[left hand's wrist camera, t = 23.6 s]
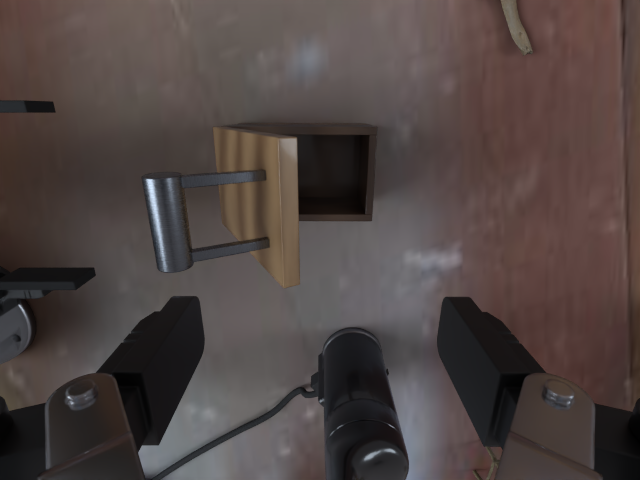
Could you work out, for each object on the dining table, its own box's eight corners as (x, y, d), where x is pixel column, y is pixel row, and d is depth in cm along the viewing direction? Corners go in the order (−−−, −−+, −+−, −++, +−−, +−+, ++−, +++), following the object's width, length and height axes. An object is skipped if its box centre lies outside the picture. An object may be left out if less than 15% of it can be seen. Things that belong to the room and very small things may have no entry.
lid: (297, 136, 21) (137, 142, 17) (300, 284, 25) (167, 317, 21) (225, 126, 35) (127, 128, 31) (233, 221, 38) (146, 234, 34)
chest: (366, 123, 44) (377, 126, 35) (362, 201, 47) (372, 221, 39) (239, 123, 44) (220, 126, 35) (245, 201, 47) (229, 221, 39)
